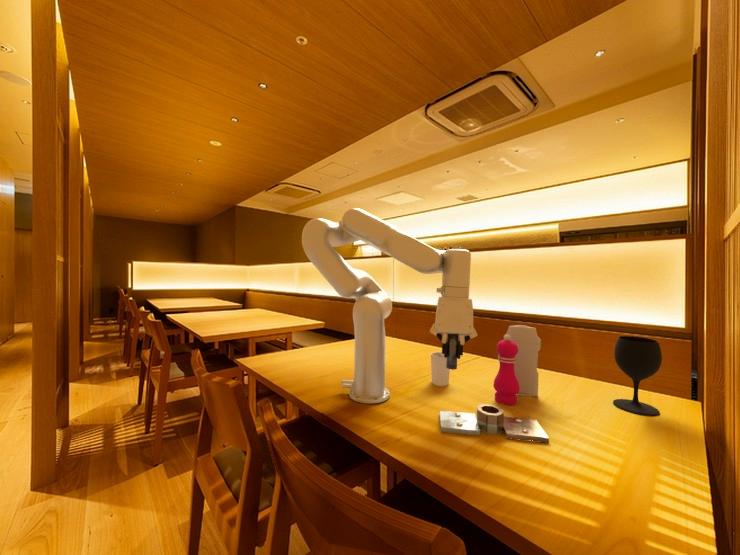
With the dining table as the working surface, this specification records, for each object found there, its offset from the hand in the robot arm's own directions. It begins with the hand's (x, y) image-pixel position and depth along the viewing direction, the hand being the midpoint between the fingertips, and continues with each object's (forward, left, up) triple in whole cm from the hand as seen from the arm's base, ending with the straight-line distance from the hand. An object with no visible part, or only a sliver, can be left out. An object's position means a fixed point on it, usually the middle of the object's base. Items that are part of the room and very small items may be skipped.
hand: (452, 356), depth 89 cm
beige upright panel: (+23, +15, -15) cm, 31 cm away
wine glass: (+53, +11, -15) cm, 56 cm away
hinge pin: (0, 0, -3) cm, 3 cm away
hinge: (+9, -10, -15) cm, 20 cm away
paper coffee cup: (-2, +19, -15) cm, 24 cm away
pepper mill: (+17, +8, -15) cm, 24 cm away
